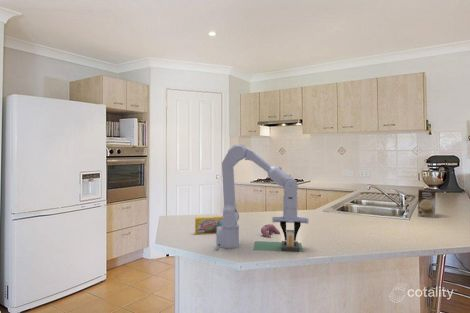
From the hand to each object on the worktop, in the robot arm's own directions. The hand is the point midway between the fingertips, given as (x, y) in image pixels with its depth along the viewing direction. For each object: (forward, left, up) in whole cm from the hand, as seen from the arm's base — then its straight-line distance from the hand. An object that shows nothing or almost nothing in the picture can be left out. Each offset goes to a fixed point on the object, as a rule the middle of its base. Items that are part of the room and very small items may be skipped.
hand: (290, 240), depth 127 cm
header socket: (0, 0, -4) cm, 4 cm away
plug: (0, 0, -3) cm, 3 cm away
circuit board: (-5, +2, -4) cm, 7 cm away
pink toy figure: (-9, +18, -5) cm, 21 cm away
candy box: (-38, +21, -5) cm, 44 cm away
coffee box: (+85, +76, -4) cm, 114 cm away
